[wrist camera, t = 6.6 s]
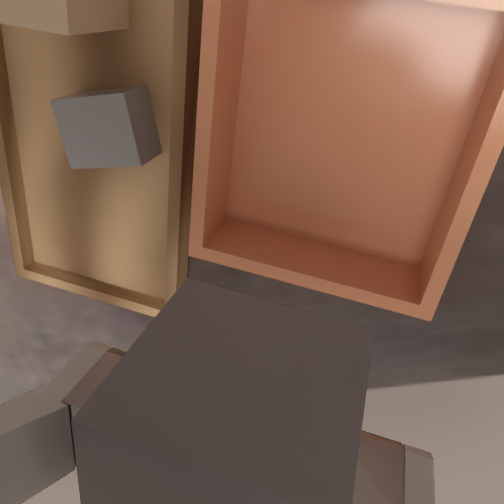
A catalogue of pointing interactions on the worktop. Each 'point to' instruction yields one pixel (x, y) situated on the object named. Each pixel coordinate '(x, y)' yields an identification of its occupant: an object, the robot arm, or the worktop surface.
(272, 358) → the charcoal cube
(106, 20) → the beige cube
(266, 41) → the terracotta dish
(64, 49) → the oak tray
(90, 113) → the light grey block
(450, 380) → the worktop surface
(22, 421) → the robot arm
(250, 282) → the worktop surface
